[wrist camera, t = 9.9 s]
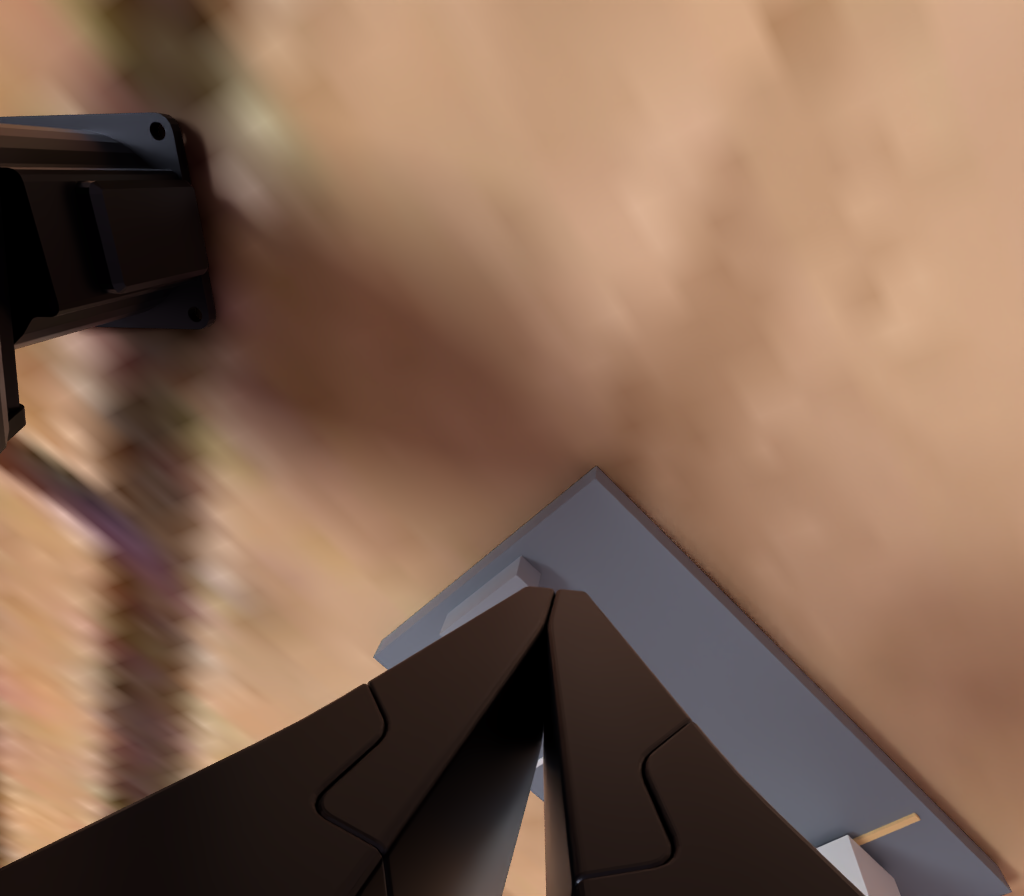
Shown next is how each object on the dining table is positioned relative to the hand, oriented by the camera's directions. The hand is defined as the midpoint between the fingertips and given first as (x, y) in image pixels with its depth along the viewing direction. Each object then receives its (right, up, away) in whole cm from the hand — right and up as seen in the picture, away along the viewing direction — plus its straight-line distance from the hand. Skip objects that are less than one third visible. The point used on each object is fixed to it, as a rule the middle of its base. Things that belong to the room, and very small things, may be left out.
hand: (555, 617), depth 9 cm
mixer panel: (+7, -10, +17) cm, 21 cm away
